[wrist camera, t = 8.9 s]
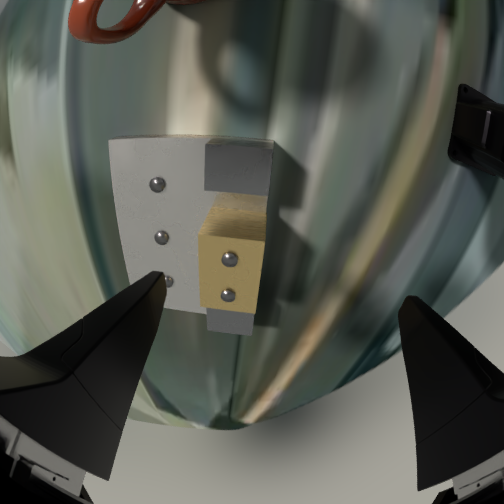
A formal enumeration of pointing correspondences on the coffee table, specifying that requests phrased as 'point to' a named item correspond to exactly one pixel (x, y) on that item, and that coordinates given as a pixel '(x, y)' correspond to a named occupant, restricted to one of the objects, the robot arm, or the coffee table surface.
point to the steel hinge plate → (184, 207)
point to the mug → (141, 11)
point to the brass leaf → (231, 259)
